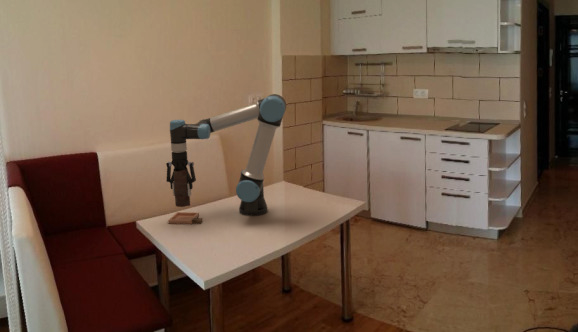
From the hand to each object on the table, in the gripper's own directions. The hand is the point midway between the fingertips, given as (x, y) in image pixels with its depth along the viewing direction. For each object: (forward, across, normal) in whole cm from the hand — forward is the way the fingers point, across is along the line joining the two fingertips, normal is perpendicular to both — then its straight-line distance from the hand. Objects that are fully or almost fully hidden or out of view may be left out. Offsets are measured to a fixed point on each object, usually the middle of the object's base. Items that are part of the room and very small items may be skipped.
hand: (182, 195), depth 263 cm
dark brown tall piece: (+6, 0, 0) cm, 6 cm away
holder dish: (+13, 0, 0) cm, 13 cm away
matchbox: (+13, -8, +4) cm, 16 cm away
